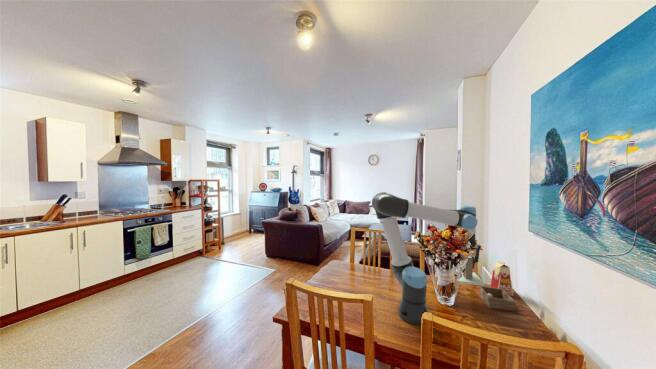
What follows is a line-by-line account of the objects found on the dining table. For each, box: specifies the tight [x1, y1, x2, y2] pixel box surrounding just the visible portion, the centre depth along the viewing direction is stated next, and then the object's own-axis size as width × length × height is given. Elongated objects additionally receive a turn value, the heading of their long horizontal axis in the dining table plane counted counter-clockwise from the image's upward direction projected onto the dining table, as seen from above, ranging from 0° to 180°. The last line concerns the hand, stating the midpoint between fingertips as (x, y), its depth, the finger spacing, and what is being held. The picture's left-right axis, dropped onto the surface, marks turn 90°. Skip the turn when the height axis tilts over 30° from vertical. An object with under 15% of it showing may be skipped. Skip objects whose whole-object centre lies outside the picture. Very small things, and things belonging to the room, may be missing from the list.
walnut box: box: [478, 285, 516, 312], centre depth 129 cm, size 14×12×6 cm
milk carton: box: [489, 260, 514, 297], centre depth 141 cm, size 9×9×20 cm
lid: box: [458, 258, 486, 287], centre depth 131 cm, size 15×13×13 cm
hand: (466, 273), depth 131 cm, fingers closed on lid, 3 cm apart
